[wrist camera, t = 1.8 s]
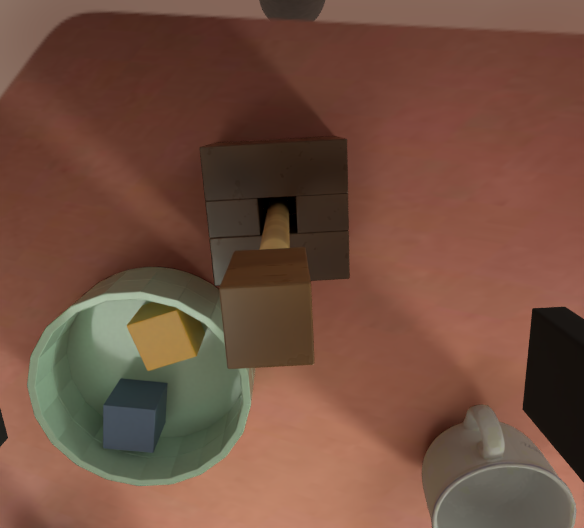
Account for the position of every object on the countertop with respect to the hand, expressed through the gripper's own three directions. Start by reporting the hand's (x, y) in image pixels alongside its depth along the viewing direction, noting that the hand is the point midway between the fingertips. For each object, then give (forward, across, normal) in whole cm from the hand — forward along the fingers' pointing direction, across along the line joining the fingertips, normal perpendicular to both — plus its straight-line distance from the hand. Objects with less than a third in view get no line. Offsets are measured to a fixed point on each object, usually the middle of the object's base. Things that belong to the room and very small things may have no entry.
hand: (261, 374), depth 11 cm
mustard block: (+26, -9, -9) cm, 29 cm away
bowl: (+26, -11, -13) cm, 31 cm away
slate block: (+26, -13, -16) cm, 33 cm away
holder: (+26, 0, 0) cm, 26 cm away
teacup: (+27, +16, -23) cm, 38 cm away
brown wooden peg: (+26, 0, 0) cm, 26 cm away
